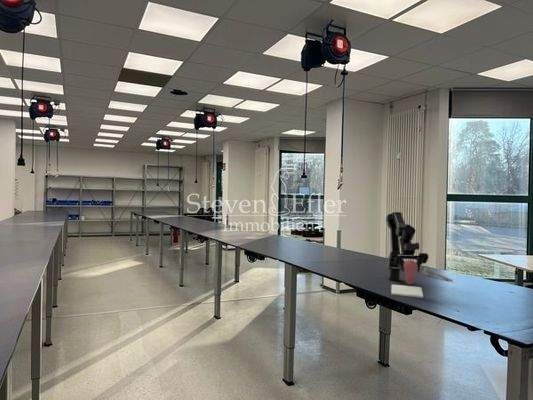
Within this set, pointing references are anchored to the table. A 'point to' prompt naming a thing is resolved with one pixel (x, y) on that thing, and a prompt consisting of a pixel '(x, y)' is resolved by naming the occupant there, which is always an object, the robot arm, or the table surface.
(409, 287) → the mat
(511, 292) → the table surface
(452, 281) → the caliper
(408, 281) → the light bulb
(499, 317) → the table surface
